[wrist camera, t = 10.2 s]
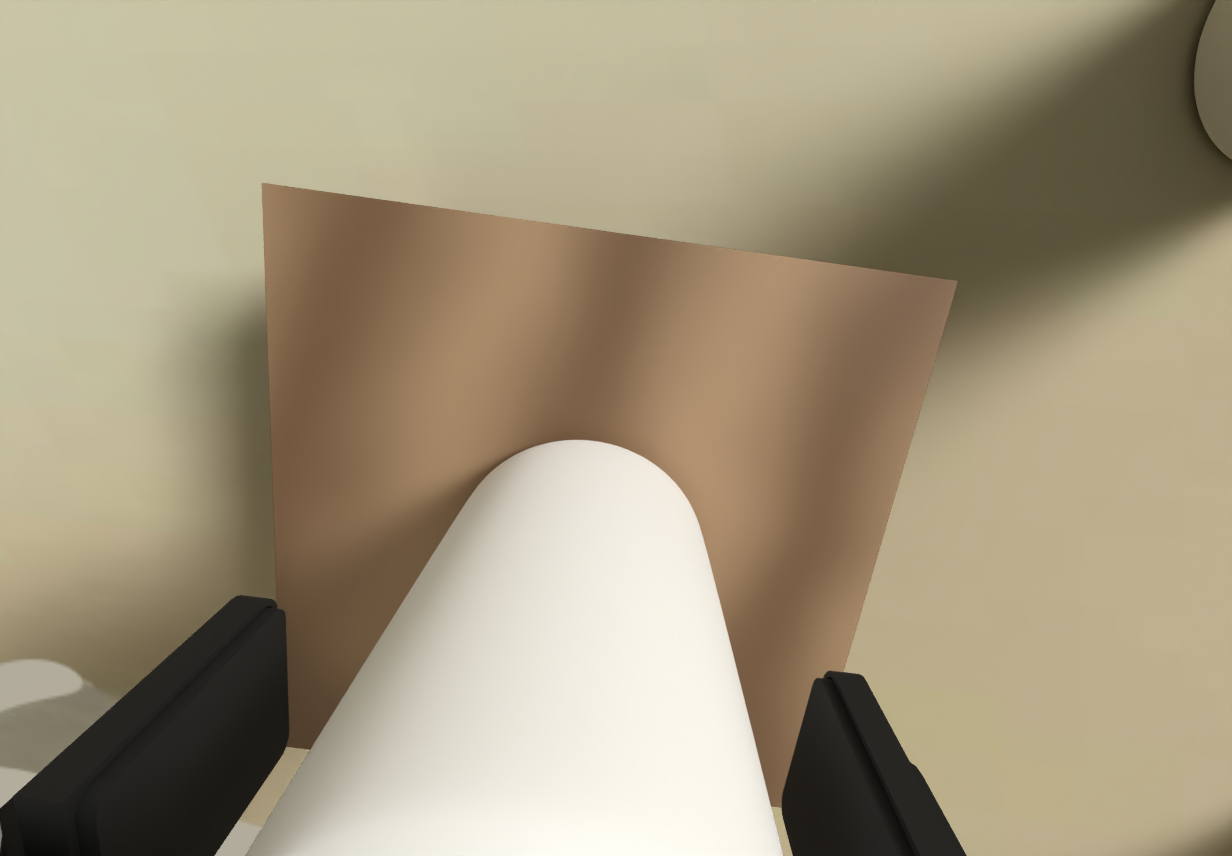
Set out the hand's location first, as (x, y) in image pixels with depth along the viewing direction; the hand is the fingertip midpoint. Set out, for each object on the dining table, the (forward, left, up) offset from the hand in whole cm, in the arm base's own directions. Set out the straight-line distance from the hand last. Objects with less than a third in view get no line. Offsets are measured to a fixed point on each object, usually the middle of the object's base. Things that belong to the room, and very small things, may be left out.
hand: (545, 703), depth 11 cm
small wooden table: (0, 0, -15) cm, 15 cm away
